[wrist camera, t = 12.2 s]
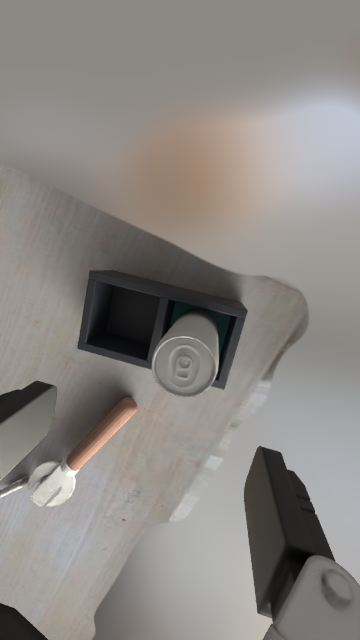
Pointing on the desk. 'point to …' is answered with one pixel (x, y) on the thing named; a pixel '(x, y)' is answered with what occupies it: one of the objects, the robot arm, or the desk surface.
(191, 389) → the beverage can
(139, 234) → the desk surface
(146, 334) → the cup holder
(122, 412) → the pizza cutter
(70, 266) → the desk surface
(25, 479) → the pen
